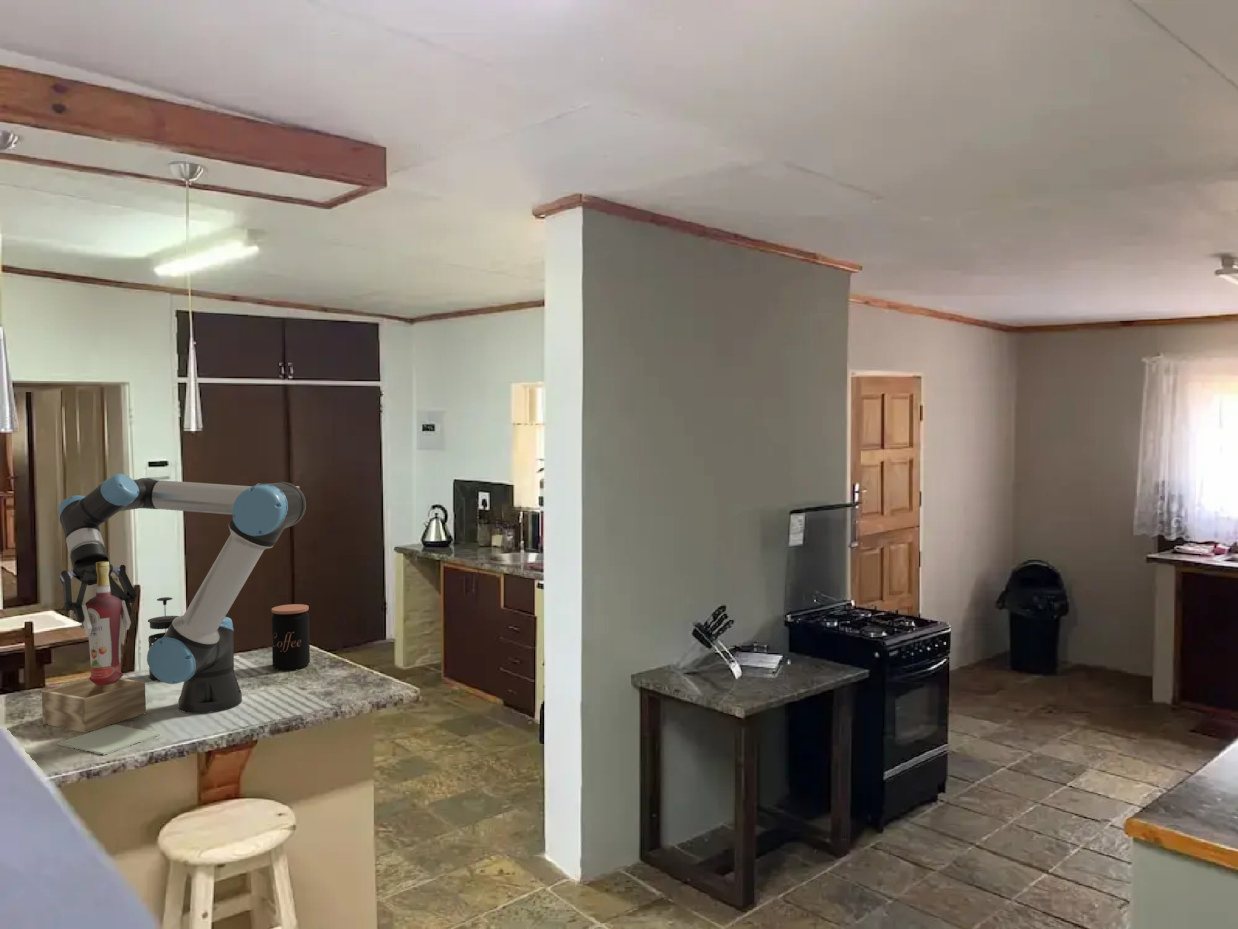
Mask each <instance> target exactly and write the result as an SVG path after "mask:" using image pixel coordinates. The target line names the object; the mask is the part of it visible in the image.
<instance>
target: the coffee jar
mask: <svg viewBox="0 0 1238 929" xmlns="http://www.w3.org/2000/svg"><path fill="white" fill-rule="evenodd" d="M309 609H310V608H309V605H307V604H302V603H300V604H298V603H296V604H294V603H292V604H282V605H276V606H274V607H272V608H271V613H272V616H271V648H272V649H271V650H272V651H271V652H272V654H271V656H272V659H271V660H272V667H273V668H274V669H275V670H276V669H278V670H277V671H280V670H292V671H297V670H296V669H299V670H302V669H305V668H307V667H308V666H309V664H310V662H311V654H310V652H311V650H310V648H311V646H310V614H309V613H308V611H309Z"/></svg>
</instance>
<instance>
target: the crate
mask: <svg viewBox="0 0 1238 929" xmlns="http://www.w3.org/2000/svg"><path fill="white" fill-rule="evenodd" d="M146 698H147V697H146V682H145V681H140V680H133V679H128V678H123V677H121V678H120V679H119V680H118V681H117V682H116V683H113V684H109V685H96V684H94V683H93V682H92V681H90V680H89V678H86V679H84V680H79V681H77V682H73V683H69V684H66V685H60V686H58V687H57V686H56V687H53V688H49V689H46V690H42V691H41V702H42V703H41V707H42V708H41V710H42V725H46V724H48V725H47V726H52V727H57V728H61V729H66V730H70V731H71V730H72V731H75V732H80V733H84V734H86V733H89V731H90V732H92V730H93V731H96V730H99V729H102V728H105V727H108V726H111V725H110V724H112V725H114V724H115V725H116V724H117V722H118V723H120V721H121V722H123V720H124V721H126V720H125V719H127V720H129V719H128V718H130V719H133V718H136V717H139V716H138V715H140V716H142V715H141V714H143V715H145V714H144V713H147V707H146V706H147V702H146V701H147V700H146Z"/></svg>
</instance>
